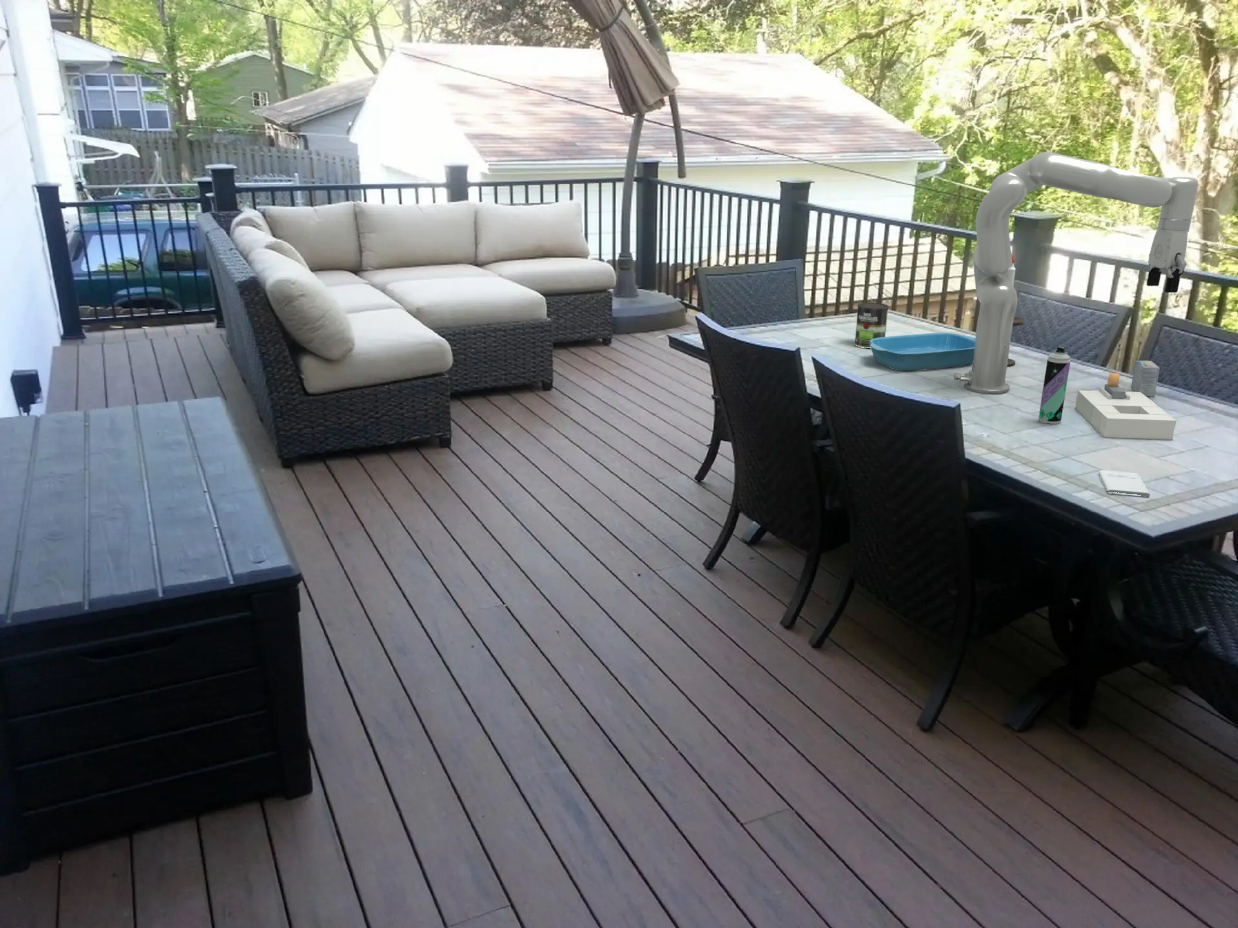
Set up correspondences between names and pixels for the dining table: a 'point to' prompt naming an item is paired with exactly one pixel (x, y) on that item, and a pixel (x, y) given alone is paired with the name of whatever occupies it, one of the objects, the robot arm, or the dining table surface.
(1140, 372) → the medicine box
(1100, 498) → the dining table surface
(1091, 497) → the dining table surface
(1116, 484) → the external hard drive
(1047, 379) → the spray can
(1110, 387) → the bar
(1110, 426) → the block
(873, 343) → the casserole dish
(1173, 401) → the dining table surface
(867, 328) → the coffee can
